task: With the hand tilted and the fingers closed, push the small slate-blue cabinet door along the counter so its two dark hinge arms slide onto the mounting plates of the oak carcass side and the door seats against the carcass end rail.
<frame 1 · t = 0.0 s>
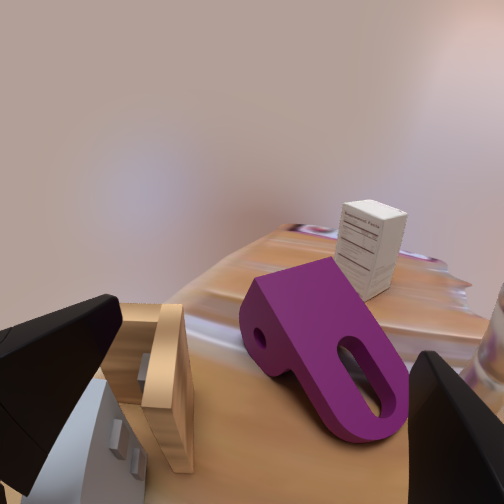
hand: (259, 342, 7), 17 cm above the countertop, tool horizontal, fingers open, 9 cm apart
plastic bottle: (447, 429, 18), on the countertop
supplement box: (359, 286, 42), on the countertop
door: (93, 484, 10), point 5 cm above the countertop, slide at 0.0 cm
mounting bracket: (325, 381, 26), on the countertop
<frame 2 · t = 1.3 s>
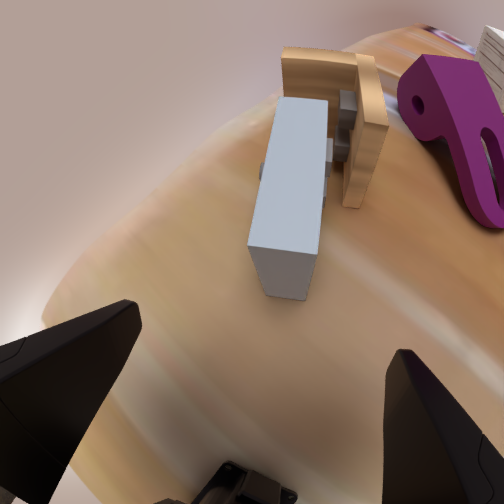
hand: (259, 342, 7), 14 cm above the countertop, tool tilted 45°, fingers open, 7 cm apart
supplement box: (488, 99, 27), on the countertop
carcass: (294, 237, 23), on the countertop
door: (290, 206, 18), point 5 cm above the countertop, slide at 0.0 cm
mounting bracket: (460, 162, 24), on the countertop
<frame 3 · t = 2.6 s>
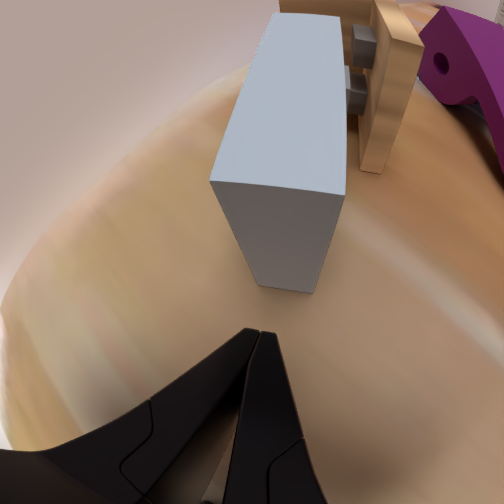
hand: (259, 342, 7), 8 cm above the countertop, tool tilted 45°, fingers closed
carcass: (298, 207, 17), on the countertop
door: (291, 154, 12), point 5 cm above the countertop, slide at 0.0 cm
mounting bracket: (489, 133, 18), on the countertop
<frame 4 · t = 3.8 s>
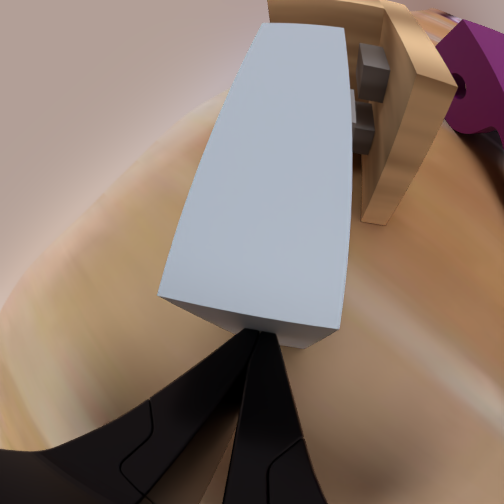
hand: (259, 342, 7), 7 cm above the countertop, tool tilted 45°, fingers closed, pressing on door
carcass: (288, 270, 15), on the countertop
door: (282, 201, 11), point 5 cm above the countertop, slide at 1.1 cm, touching gripper
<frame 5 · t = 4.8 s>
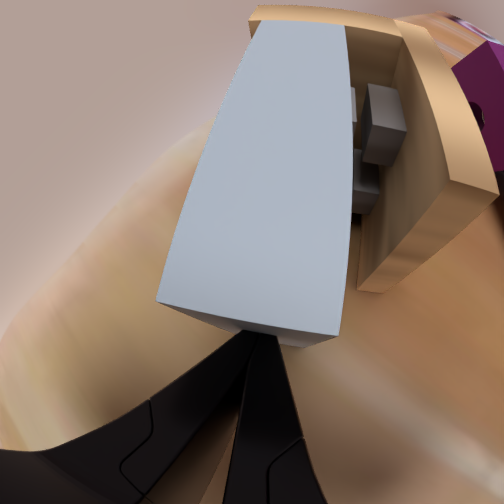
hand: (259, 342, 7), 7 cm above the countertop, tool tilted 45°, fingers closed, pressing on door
carcass: (273, 346, 14), on the countertop
door: (281, 200, 11), point 5 cm above the countertop, slide at 5.2 cm, touching carcass, gripper
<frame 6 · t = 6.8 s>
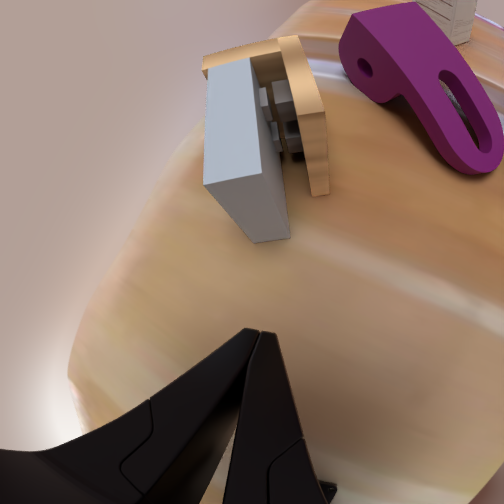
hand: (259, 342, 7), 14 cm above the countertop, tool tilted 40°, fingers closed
supplement box: (440, 33, 25), on the countertop
carcass: (272, 243, 23), on the countertop
door: (247, 155, 20), point 5 cm above the countertop, slide at 5.2 cm
mounting bracket: (427, 112, 23), on the countertop
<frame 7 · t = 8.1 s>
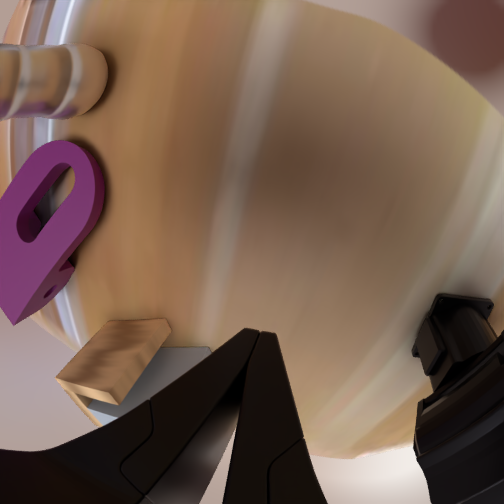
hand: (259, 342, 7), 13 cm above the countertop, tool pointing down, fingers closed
plastic bottle: (92, 82, 18), on the countertop
carcass: (215, 357, 27), on the countertop
door: (154, 392, 24), point 5 cm above the countertop, slide at 5.2 cm
mounting bracket: (63, 215, 25), on the countertop
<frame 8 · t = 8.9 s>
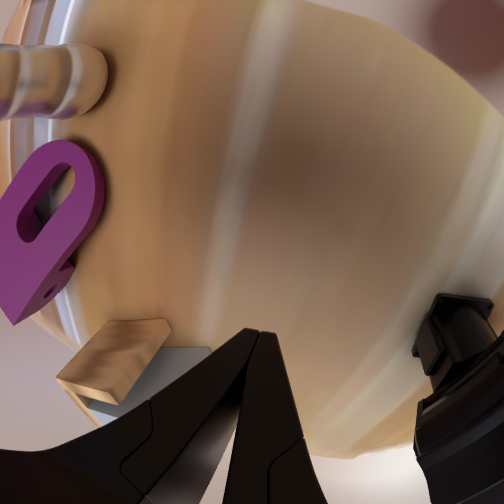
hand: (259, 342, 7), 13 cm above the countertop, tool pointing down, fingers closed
plastic bottle: (92, 82, 18), on the countertop
carcass: (215, 358, 27), on the countertop
door: (154, 393, 24), point 5 cm above the countertop, slide at 5.2 cm
mounting bracket: (64, 215, 25), on the countertop
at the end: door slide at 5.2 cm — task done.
